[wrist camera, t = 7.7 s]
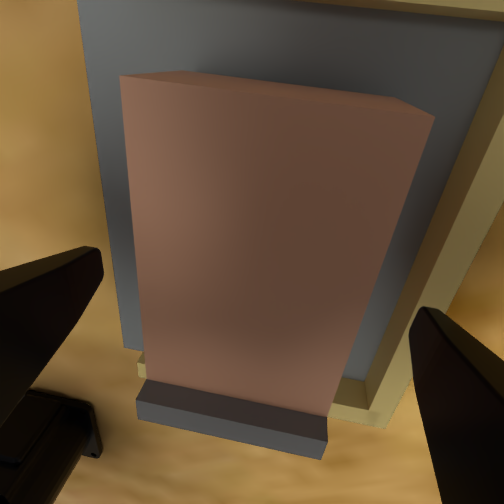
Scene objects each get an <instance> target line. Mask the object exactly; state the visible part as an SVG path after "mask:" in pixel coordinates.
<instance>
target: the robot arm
mask: <svg viewBox="0 0 504 504" xmlns="http://www.w3.org/2000/svg"><path fill="white" fill-rule="evenodd" d="M103 276H104V269H103V263H102V256H101V252H100V250H99V249H98V248H94V247H89V246H82V247H79V248H75V249H72V250H69V251H65V252H62V253H59V254H55V255H52V256H49V257H45V258H42V259H39V260H35V261H32V262H29V263H25V264H22V265H19V266H15V267H12V268H9V269H5V270H2V271H0V504H53V503H54V502H55V500H56V498H57V497H58V495H59V493H60V491H61V490H62V488H63V486H64V485H65V483H66V481H67V480H68V478H69V476H70V474H71V473H72V471H73V469H74V468H75V466H76V464H77V463H78V461H79V459H80V457H81V456H82V455H83V456H87V457H92V458H100V456H101V454H102V447H101V443H100V438H99V434H98V430H97V426H96V421H95V417H94V413H93V409H92V407H91V406H90V405H88V404H86V403H82V402H77V401H73V400H68V399H64V398H59V397H55V396H50V395H46V394H41V393H37V392H32V391H28V389H29V388H30V386H31V385H32V384H33V382H34V381H35V380H36V378H37V377H38V376H39V374H40V373H41V371H42V370H43V369H44V367H45V366H46V365H47V363H48V362H49V361H50V359H51V358H52V356H53V355H54V354H55V352H56V351H57V350H58V348H59V347H60V346H61V344H62V343H63V342H64V340H65V339H66V337H67V336H68V335H69V333H70V332H71V331H72V329H73V328H74V326H75V325H76V324H77V322H78V320H79V319H80V317H81V316H82V314H83V312H84V311H85V309H86V307H87V305H88V304H89V302H90V300H91V299H92V297H93V295H94V293H95V292H96V290H97V288H98V286H99V285H100V283H101V281H102V279H103ZM408 338H409V346H410V355H411V363H412V372H413V380H414V387H415V392H416V397H417V401H418V405H419V410H420V414H421V418H422V422H423V426H424V430H425V434H426V439H427V443H428V447H429V451H430V455H431V459H432V463H433V468H434V472H435V476H436V480H437V484H438V488H439V492H440V496H441V501H442V504H504V361H503V360H502V359H501V358H499V357H498V356H497V355H496V354H494V353H493V352H492V351H491V350H489V349H488V348H487V347H486V346H484V345H483V344H482V343H481V342H479V341H478V340H477V339H476V338H474V337H473V336H472V335H471V334H469V333H468V332H467V331H466V330H464V329H463V328H462V327H461V326H459V325H458V324H457V323H455V322H454V321H453V320H452V319H450V318H449V317H448V316H447V315H445V314H444V313H443V312H442V311H440V310H439V309H437V308H432V307H426V306H422V307H420V308H419V310H418V312H417V314H416V316H415V318H414V320H413V322H412V324H411V327H410V329H409V334H408Z"/></svg>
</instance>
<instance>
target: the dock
mask: <svg viewBox="0 0 504 504" xmlns="http://www.w3.org/2000/svg"><path fill="white" fill-rule="evenodd" d="M77 4H78V12H79V19H80V26H81V34H82V41H83V48H84V56H85V63H86V71H87V78H88V85H89V93H90V100H91V107H92V115H93V122H94V129H95V137H96V144H97V151H98V159H99V166H100V174H101V181H102V188H103V196H104V203H105V210H106V218H107V225H108V232H109V240H110V247H111V254H112V262H113V269H114V277H115V284H116V291H117V299H118V306H119V313H120V321H121V328H122V335H123V343H124V348H129V349H134V350H139V351H144V345H143V334H142V323H141V311H140V300H139V289H138V278H137V267H136V256H135V245H134V234H133V223H132V212H131V201H130V190H129V179H128V168H127V156H126V145H125V134H124V123H123V112H122V101H121V90H120V79H119V76H120V75H132V74H144V73H156V72H167V71H179V70H184V71H192V72H200V73H207V74H215V75H223V76H231V77H239V78H247V79H255V80H263V81H271V82H278V83H286V84H294V85H302V86H310V87H318V88H326V89H334V90H342V91H349V92H357V93H365V94H373V95H381V96H389V97H395V98H397V99H399V100H402V101H404V102H406V103H408V104H410V105H412V106H414V107H416V108H418V109H420V110H422V111H424V112H426V113H429V114H431V115H433V116H435V119H434V122H433V125H432V128H431V130H430V133H429V136H428V139H427V141H426V144H425V147H424V150H423V153H422V155H421V158H420V161H419V164H418V166H417V169H416V172H415V175H414V177H413V180H412V183H411V186H410V189H409V191H408V194H407V197H406V200H405V202H404V205H403V208H402V211H401V214H400V216H399V219H398V222H397V225H396V227H395V230H394V233H393V236H392V238H391V241H390V244H389V247H388V250H387V252H386V255H385V258H384V261H383V263H382V266H381V269H380V272H379V275H378V277H377V280H376V283H375V286H374V288H373V291H372V294H371V297H370V299H369V302H368V305H367V308H366V311H365V313H364V316H363V319H362V322H361V324H360V327H359V330H358V333H357V335H356V338H355V341H354V344H353V347H352V349H351V352H350V355H349V358H348V360H347V363H346V366H345V369H344V372H343V374H342V377H341V380H340V383H339V385H338V388H337V391H336V394H335V396H334V399H333V402H332V405H331V408H330V410H329V413H328V416H327V417H331V418H335V419H340V420H345V421H350V422H354V423H359V424H364V425H369V426H373V427H378V428H383V429H386V427H387V425H388V423H389V421H390V419H391V417H392V415H393V413H394V411H395V409H396V407H397V405H398V404H399V402H400V400H401V398H402V396H403V394H404V392H405V390H406V388H407V386H408V384H409V382H410V381H411V379H412V377H413V372H412V363H411V355H410V346H409V338H408V334H409V329H410V327H411V324H412V322H413V320H414V318H415V316H416V314H417V312H418V310H419V308H420V307H422V306H426V307H432V308H437V309H439V310H440V311H442V312H443V313H444V314H445V313H446V311H447V309H448V307H449V306H450V304H451V302H452V300H453V298H454V296H455V294H456V292H457V290H458V288H459V286H460V284H461V282H462V281H463V279H464V277H465V275H466V273H467V271H468V269H469V267H470V265H471V263H472V261H473V259H474V258H475V256H476V254H477V252H478V250H479V248H480V246H481V244H482V242H483V240H484V238H485V236H486V234H487V233H488V231H489V229H490V227H491V225H492V223H493V221H494V219H495V217H496V215H497V213H498V211H499V209H500V208H501V206H502V204H503V202H504V0H77ZM137 366H138V375H139V377H141V378H146V367H145V356H144V352H143V353H142V355H141V357H140V358H139V360H138V362H137ZM146 379H147V378H146Z"/></svg>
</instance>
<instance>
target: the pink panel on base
mask: <svg viewBox="0 0 504 504" xmlns="http://www.w3.org/2000/svg"><path fill="white" fill-rule="evenodd" d="M119 79H120V90H121V101H122V112H123V123H124V134H125V145H126V156H127V168H128V179H129V190H130V201H131V212H132V223H133V234H134V245H135V256H136V267H137V278H138V289H139V300H140V311H141V323H142V334H143V345H144V356H145V367H146V378H147V379H146V381H145V383H144V385H143V387H142V389H141V391H140V392H139V394H138V396H137V398H136V408H137V416H138V419H140V420H144V421H149V422H153V423H158V424H162V425H167V426H171V427H176V428H180V429H184V430H189V431H193V432H198V433H202V434H207V435H211V436H216V437H220V438H225V439H229V440H233V441H238V442H242V443H247V444H251V445H256V446H260V447H265V448H269V449H274V450H278V451H282V452H287V453H291V454H296V455H300V456H305V457H309V458H314V459H318V460H321V458H322V456H323V453H324V450H325V448H326V445H327V443H328V435H327V416H328V413H329V410H330V408H331V405H332V402H333V399H334V396H335V394H336V391H337V388H338V385H339V383H340V380H341V377H342V374H343V372H344V369H345V366H346V363H347V360H348V358H349V355H350V352H351V349H352V347H353V344H354V341H355V338H356V335H357V333H358V330H359V327H360V324H361V322H362V319H363V316H364V313H365V311H366V308H367V305H368V302H369V299H370V297H371V294H372V291H373V288H374V286H375V283H376V280H377V277H378V275H379V272H380V269H381V266H382V263H383V261H384V258H385V255H386V252H387V250H388V247H389V244H390V241H391V238H392V236H393V233H394V230H395V227H396V225H397V222H398V219H399V216H400V214H401V211H402V208H403V205H404V202H405V200H406V197H407V194H408V191H409V189H410V186H411V183H412V180H413V177H414V175H415V172H416V169H417V166H418V164H419V161H420V158H421V155H422V153H423V150H424V147H425V144H426V141H427V139H428V136H429V133H430V130H431V128H432V125H433V122H434V119H435V116H433V115H431V114H429V113H426V112H424V111H422V110H420V109H418V108H416V107H414V106H412V105H410V104H408V103H406V102H404V101H402V100H399V99H397V98H395V97H389V96H381V95H373V94H365V93H357V92H349V91H342V90H334V89H326V88H318V87H310V86H302V85H294V84H286V83H278V82H271V81H263V80H255V79H247V78H239V77H231V76H223V75H215V74H207V73H200V72H192V71H184V70H179V71H167V72H156V73H144V74H132V75H120V76H119Z"/></svg>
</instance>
